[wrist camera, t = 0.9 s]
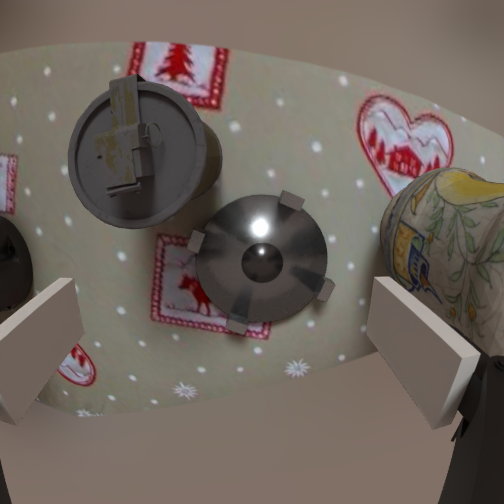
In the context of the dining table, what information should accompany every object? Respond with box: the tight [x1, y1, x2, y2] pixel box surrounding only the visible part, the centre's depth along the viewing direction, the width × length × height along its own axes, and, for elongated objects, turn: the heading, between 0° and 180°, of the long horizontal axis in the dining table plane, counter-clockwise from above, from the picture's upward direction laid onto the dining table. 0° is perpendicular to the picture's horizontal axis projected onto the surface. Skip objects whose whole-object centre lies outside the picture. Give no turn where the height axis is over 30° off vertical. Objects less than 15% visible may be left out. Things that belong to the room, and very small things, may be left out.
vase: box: [381, 168, 504, 357], centre depth 25 cm, size 18×18×30 cm
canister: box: [68, 74, 222, 229], centre depth 27 cm, size 11×10×20 cm
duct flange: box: [186, 190, 335, 335], centre depth 38 cm, size 18×18×4 cm
